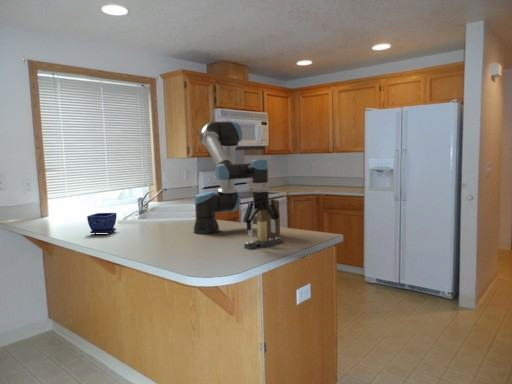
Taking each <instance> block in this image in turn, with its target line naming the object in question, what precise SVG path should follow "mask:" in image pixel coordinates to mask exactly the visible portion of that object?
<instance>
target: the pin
mask: <svg viewBox="0 0 512 384" xmlns="http://www.w3.org/2000/svg"><path fill="white" fill-rule="evenodd" d="M256 233H257V240H258V242H259V243H265V242H267V221H257V220H256Z"/></svg>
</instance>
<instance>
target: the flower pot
mask: <svg viewBox="0 0 512 384" xmlns="http://www.w3.org/2000/svg"><path fill="white" fill-rule="evenodd" d="M86 218H87V223H88V226H89V228H90V230H91V231H90V232H89V233H90V234H91V233H95V234H96V233H109V234H111V233H110V232H112V231H114V232H115V231H116V230H117V227H115V226H116V221H117V213H116V212H97V213H93V214H90V215H87V216H86ZM112 233H113V232H112Z"/></svg>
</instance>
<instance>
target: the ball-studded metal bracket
mask: <svg viewBox="0 0 512 384" xmlns="http://www.w3.org/2000/svg"><path fill="white" fill-rule="evenodd" d="M283 243H284V238H281V236H280V237H275V238H269V239H267V242H265V243H259V242H258V239H257V240H252V241H249V242H245V243H243V246H244V249H246V250H253V249H258V248H260V249H263V248H268V247H273V246H274V245H277V244H283Z"/></svg>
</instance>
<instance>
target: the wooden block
mask: <svg viewBox="0 0 512 384" xmlns="http://www.w3.org/2000/svg"><path fill="white" fill-rule="evenodd" d="M269 200H274V205H275V207H276V209H277V212H278V214H279V215H280V201H279V200H278V199H274V198H268V201H269ZM268 207H269V208H270V210H271V211H272V209H271V207H270V205H269V204H268ZM271 219H272V218H271V216H270V215H269V214H268V213H267V211H266V210H261V211H258V212H257V213H256V222H257V221H267V239H269V238H275V237H281V227H280V226H281V225H280V224H281V223H280V221H281V219H280V217H279V218H278V219H277V220H276V226H275V231H276V233H273V232H271Z"/></svg>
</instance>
